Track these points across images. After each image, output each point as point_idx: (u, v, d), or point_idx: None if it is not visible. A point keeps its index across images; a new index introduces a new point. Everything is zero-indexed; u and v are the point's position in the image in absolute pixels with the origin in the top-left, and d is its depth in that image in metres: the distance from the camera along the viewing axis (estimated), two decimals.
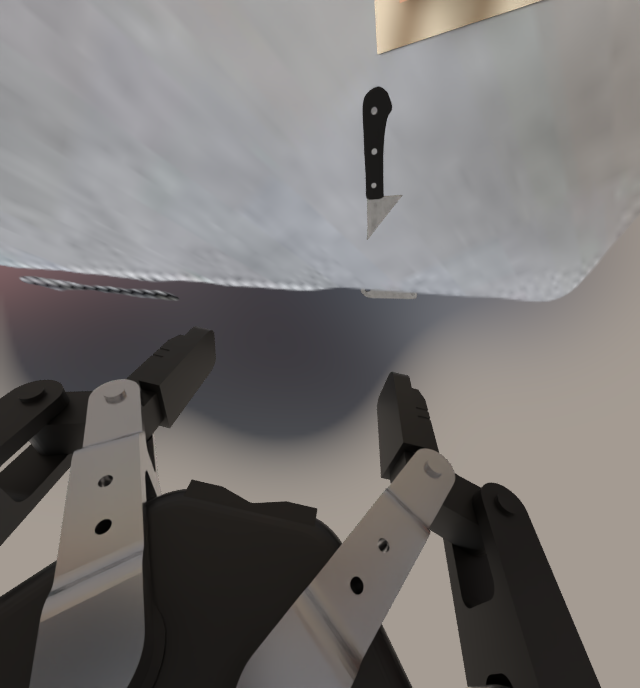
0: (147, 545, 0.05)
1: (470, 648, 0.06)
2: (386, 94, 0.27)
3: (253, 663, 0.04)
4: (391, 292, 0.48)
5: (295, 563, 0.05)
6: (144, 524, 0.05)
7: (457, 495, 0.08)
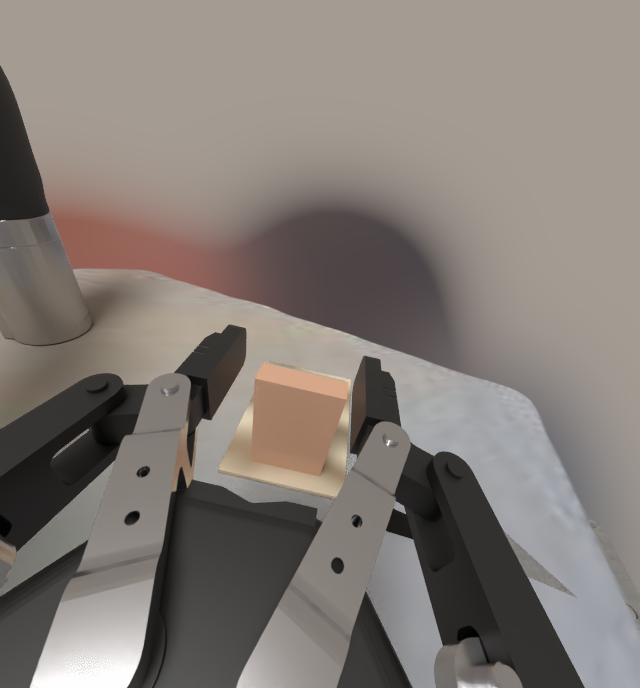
0: (166, 548, 0.05)
1: (440, 608, 0.07)
2: None
3: (253, 663, 0.04)
4: (609, 561, 0.29)
5: (295, 563, 0.05)
6: (168, 524, 0.05)
7: (413, 463, 0.08)
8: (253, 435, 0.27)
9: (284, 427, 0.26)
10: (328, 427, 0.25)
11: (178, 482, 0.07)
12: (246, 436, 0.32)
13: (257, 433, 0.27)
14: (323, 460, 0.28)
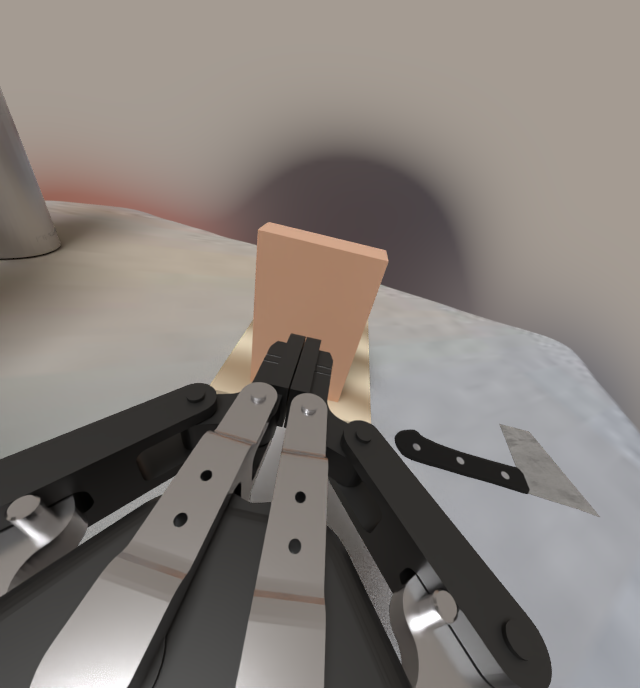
0: (195, 567, 0.05)
1: (382, 561, 0.07)
2: (402, 431, 0.23)
3: (253, 663, 0.04)
4: None
5: None
6: (205, 543, 0.05)
7: (329, 431, 0.09)
8: (254, 338, 0.21)
9: (296, 320, 0.19)
10: (356, 316, 0.18)
11: (235, 493, 0.07)
12: (244, 357, 0.26)
13: (259, 334, 0.20)
14: (345, 375, 0.22)
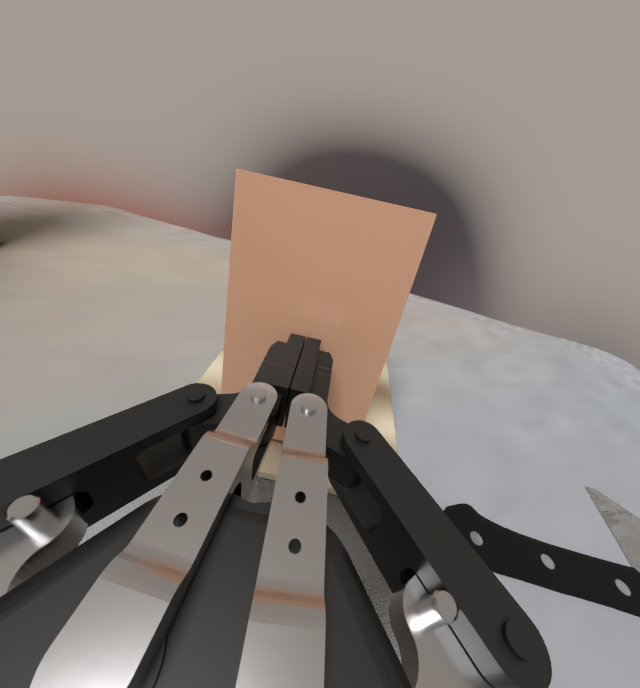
0: (195, 568, 0.05)
1: (382, 561, 0.07)
2: (450, 507, 0.15)
3: (253, 663, 0.04)
4: None
5: None
6: (205, 542, 0.05)
7: (329, 431, 0.09)
8: (226, 352, 0.13)
9: (291, 320, 0.12)
10: (384, 309, 0.12)
11: (235, 493, 0.07)
12: None
13: (234, 345, 0.13)
14: (364, 410, 0.14)
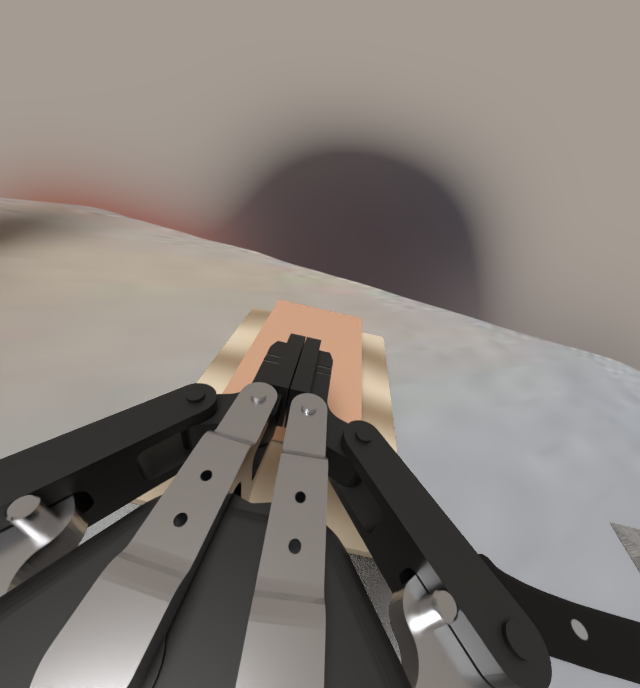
0: (195, 568, 0.05)
1: (382, 561, 0.07)
2: None
3: (253, 663, 0.04)
4: None
5: None
6: (205, 542, 0.05)
7: (329, 431, 0.09)
8: (250, 350, 0.18)
9: None
10: (352, 340, 0.21)
11: (235, 493, 0.07)
12: None
13: (258, 347, 0.19)
14: (359, 390, 0.17)
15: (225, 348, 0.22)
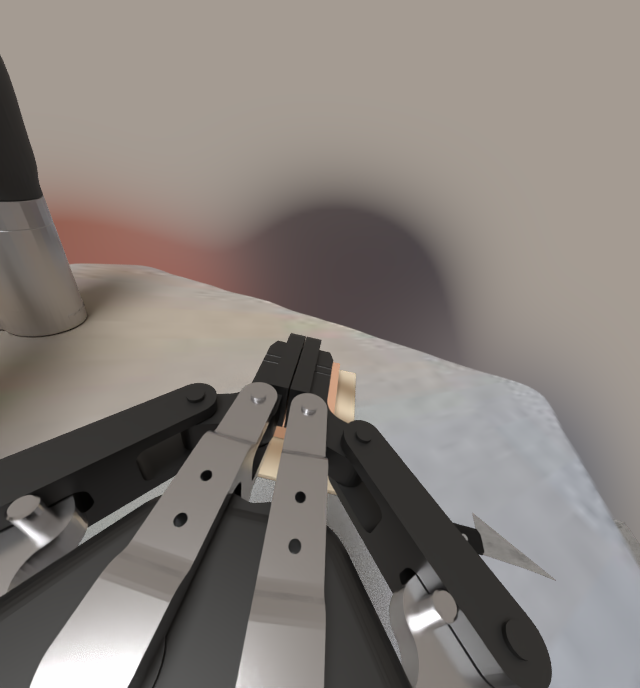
0: (195, 567, 0.05)
1: (382, 561, 0.07)
2: None
3: (253, 663, 0.04)
4: (639, 563, 0.27)
5: None
6: (205, 542, 0.05)
7: (329, 431, 0.09)
8: None
9: None
10: (332, 380, 0.36)
11: (235, 493, 0.07)
12: None
13: None
14: None
15: None
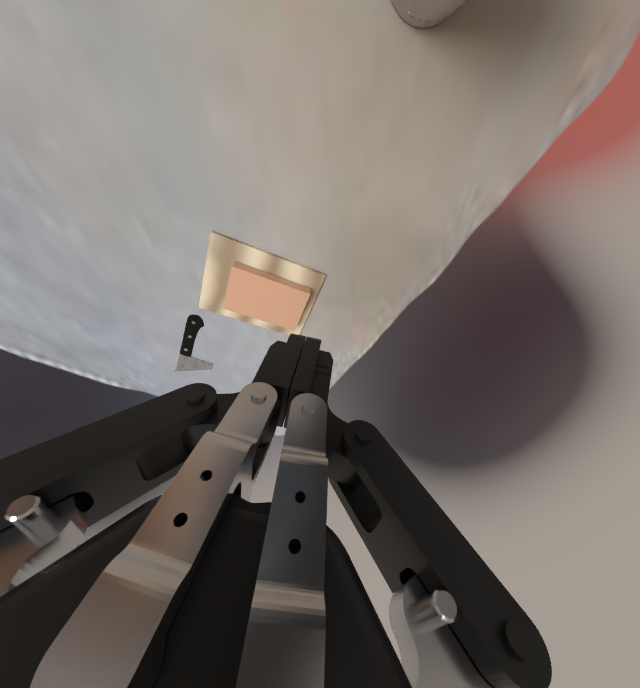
0: (195, 567, 0.05)
1: (382, 561, 0.07)
2: (201, 320, 0.50)
3: (253, 663, 0.04)
4: None
5: None
6: (206, 543, 0.05)
7: (329, 431, 0.09)
8: (262, 278, 0.42)
9: (272, 298, 0.44)
10: (274, 320, 0.47)
11: (235, 493, 0.07)
12: (239, 252, 0.42)
13: (265, 281, 0.42)
14: (242, 313, 0.46)
15: (284, 261, 0.43)
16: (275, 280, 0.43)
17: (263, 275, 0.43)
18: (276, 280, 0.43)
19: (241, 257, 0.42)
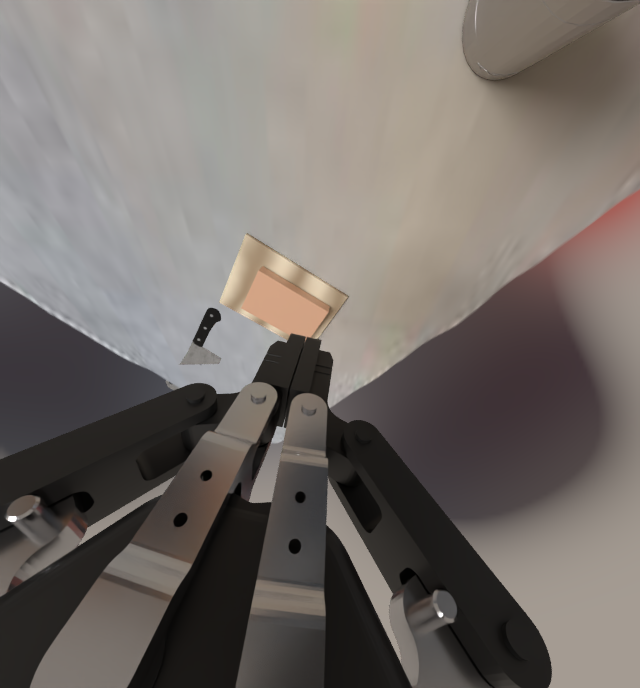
0: (195, 567, 0.05)
1: (382, 561, 0.07)
2: (219, 315, 0.51)
3: (253, 663, 0.04)
4: None
5: None
6: (205, 542, 0.05)
7: (329, 431, 0.09)
8: (285, 287, 0.42)
9: (290, 309, 0.45)
10: (288, 330, 0.47)
11: (235, 493, 0.07)
12: (268, 258, 0.43)
13: (287, 290, 0.43)
14: (258, 317, 0.46)
15: (309, 275, 0.43)
16: (297, 292, 0.43)
17: (286, 285, 0.43)
18: (298, 292, 0.43)
19: (269, 263, 0.43)
